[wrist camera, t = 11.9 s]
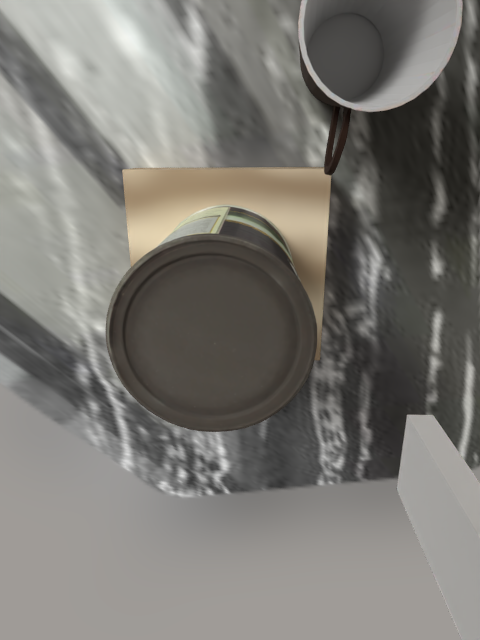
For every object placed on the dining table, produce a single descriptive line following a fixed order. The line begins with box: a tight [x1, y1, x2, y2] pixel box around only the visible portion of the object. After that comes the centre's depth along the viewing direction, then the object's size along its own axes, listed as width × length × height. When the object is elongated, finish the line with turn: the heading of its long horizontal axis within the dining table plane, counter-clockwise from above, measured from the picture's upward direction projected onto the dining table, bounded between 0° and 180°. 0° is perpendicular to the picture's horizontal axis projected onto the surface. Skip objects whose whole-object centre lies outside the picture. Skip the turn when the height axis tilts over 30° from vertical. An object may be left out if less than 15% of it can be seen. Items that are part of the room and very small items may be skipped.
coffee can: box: [106, 205, 317, 432], centre depth 29 cm, size 10×10×14 cm
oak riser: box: [122, 167, 331, 360], centre depth 37 cm, size 15×15×4 cm
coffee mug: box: [298, 0, 463, 175], centre depth 29 cm, size 12×9×10 cm
